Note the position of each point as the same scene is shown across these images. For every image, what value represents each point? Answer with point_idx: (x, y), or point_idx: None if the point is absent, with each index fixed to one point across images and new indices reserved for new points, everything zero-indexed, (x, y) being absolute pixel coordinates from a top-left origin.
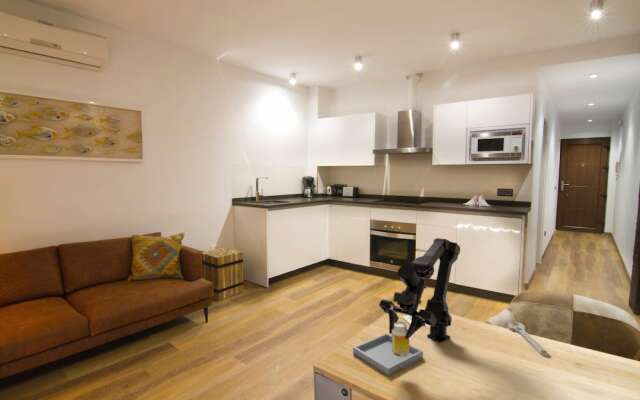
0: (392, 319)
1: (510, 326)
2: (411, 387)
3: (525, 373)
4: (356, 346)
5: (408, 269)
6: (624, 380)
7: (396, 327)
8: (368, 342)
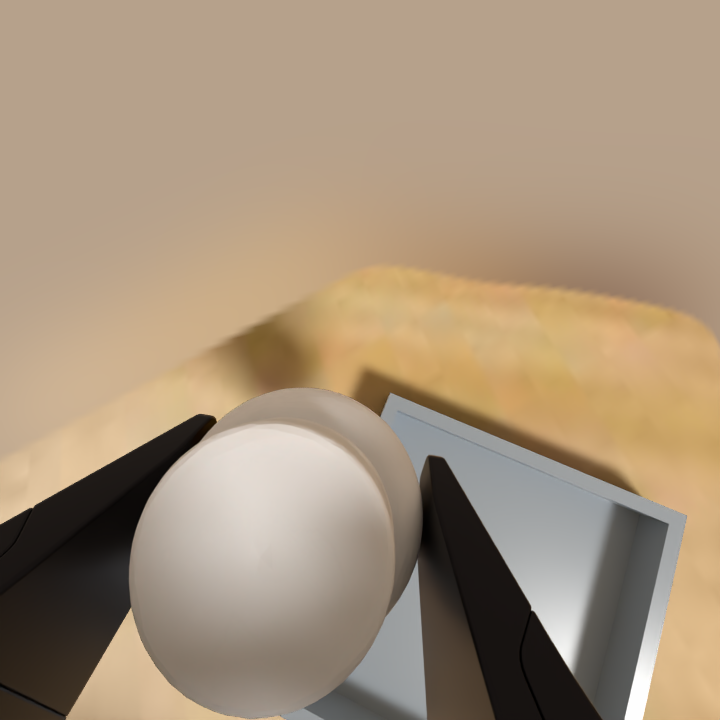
0: (496, 695)
1: None
2: (271, 366)
3: None
4: (674, 538)
5: None
6: None
7: (311, 424)
8: (639, 641)
